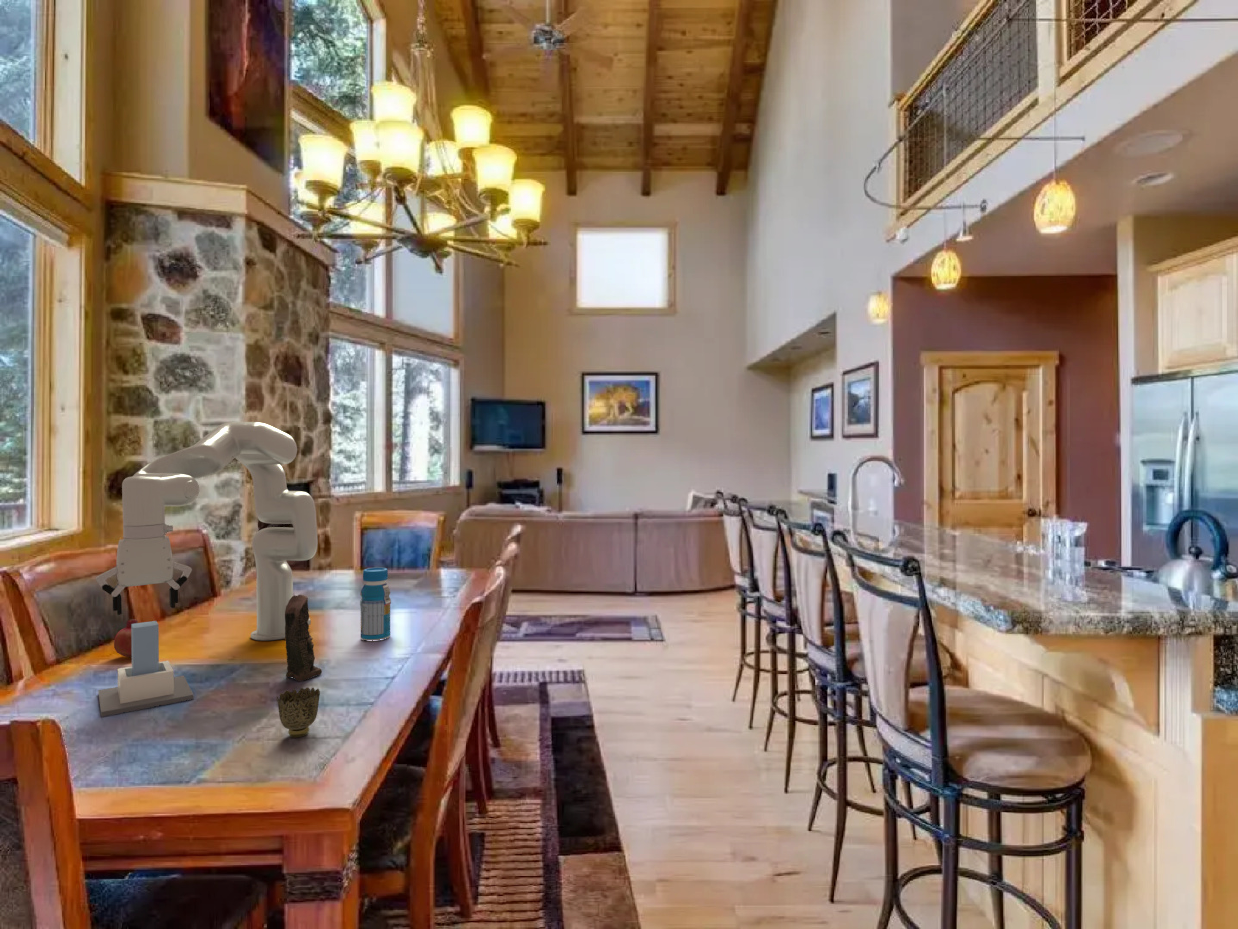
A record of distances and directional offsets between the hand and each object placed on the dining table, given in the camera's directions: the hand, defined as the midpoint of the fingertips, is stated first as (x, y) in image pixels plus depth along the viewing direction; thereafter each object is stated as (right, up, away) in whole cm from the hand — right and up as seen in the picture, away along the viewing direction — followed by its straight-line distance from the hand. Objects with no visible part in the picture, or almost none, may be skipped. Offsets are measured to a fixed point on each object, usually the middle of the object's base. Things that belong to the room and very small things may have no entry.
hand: (146, 610), depth 150 cm
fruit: (-23, -19, +29) cm, 41 cm away
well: (0, -19, 0) cm, 19 cm away
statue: (+28, -19, +13) cm, 36 cm away
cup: (+43, -20, -19) cm, 51 cm away
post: (0, -18, 0) cm, 18 cm away
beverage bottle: (+33, -19, +48) cm, 61 cm away
